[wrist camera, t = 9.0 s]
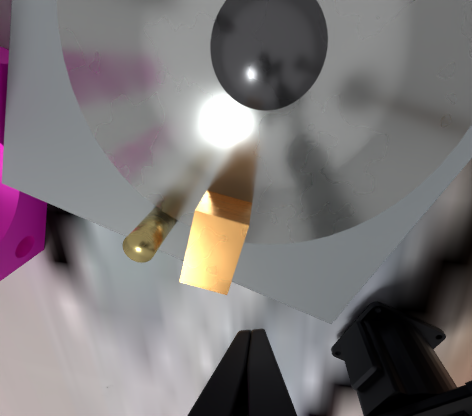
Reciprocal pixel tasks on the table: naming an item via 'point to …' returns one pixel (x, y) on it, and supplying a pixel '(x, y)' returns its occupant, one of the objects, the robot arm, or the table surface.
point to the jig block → (138, 207)
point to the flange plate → (270, 110)
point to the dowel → (148, 236)
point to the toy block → (17, 205)
